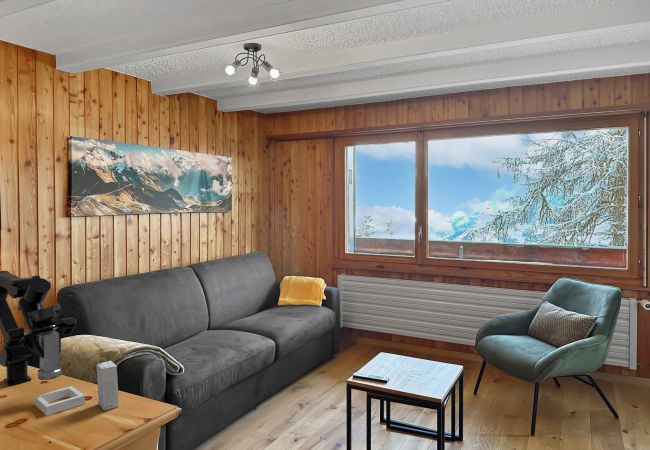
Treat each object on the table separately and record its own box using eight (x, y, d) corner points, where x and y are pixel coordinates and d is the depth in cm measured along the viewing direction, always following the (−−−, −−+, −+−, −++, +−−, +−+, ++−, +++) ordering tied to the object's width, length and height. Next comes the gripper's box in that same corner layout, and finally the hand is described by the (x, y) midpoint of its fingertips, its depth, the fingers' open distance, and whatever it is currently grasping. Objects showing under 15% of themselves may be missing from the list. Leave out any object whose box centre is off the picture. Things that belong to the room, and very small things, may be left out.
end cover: (35, 376, 136) (34, 333, 135) (57, 370, 141) (56, 329, 140) (41, 381, 132) (41, 337, 132) (64, 375, 137) (63, 332, 136)
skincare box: (119, 407, 132) (118, 365, 131) (102, 411, 129) (101, 369, 128) (113, 399, 137) (112, 359, 136) (96, 403, 134) (96, 363, 133)
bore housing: (34, 404, 133) (34, 396, 133) (71, 393, 140) (71, 385, 140) (46, 415, 126) (46, 406, 126) (85, 403, 134) (84, 395, 134)
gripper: (5, 302, 130) (24, 348, 124) (73, 291, 145) (92, 332, 139) (-5, 325, 135) (12, 370, 129) (62, 312, 150) (79, 352, 144)
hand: (51, 355), depth 135 cm, fingers closed on end cover, 4 cm apart
